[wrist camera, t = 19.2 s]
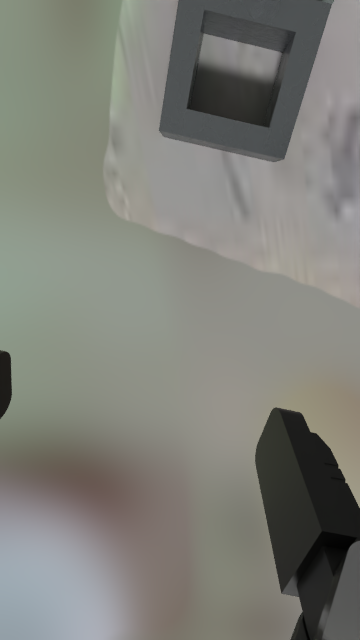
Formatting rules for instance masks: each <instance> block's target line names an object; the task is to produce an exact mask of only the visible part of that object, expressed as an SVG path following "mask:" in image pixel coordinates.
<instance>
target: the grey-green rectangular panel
mask: <svg viewBox="0 0 360 640" xmlns="http://www.w3.org/2000/svg"><path fill="white" fill-rule="evenodd" d="M318 1H322V2H326V3H330V4H332V3H333V2H334V0H318Z"/></svg>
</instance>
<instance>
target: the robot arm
mask: <svg viewBox="0 0 360 640" xmlns="http://www.w3.org/2000/svg"><path fill="white" fill-rule="evenodd" d="M11 395H12V386H11V357H10V354H9V353H8V352H5V351H1V350H0V419H1V417H2V416H3V415H4V414H5V412H6V410H7V408H8V406H9V404H10V401H11ZM255 462H256V469H257V474H258V478H259V484H260V489H261V494H262V499H263V504H264V509H265V514H266V519H267V524H268V529H269V533H270V539H271V543H272V548H273V554H274V559H275V564H276V569H277V574H278V578H279V584H280V589H281V593H282V594H287V595H292V596H297V597H299V598H300V602H301V606H302V610H303V612H302V613H301V615H300V617H299V618H298V621H297V623H296V626H295V629H294V631H293V634H292V637H291V639H290V640H360V508H359V506H358V504H357V502H356V500H355V498H354V496H353V494H352V492H351V490H350V488H349V486H348V484H347V483H345V478H344V476H343V474H342V472H341V470H340V469H338V464H337V461H336V459H335V457H334V455H333V453H332V451H331V449H330V448H329V447H328V446H327V445H326V444H325V442H324V441H323V440H322V439H321V438H320V437H319V436H318V435H317V434H316V433H311V432H310V430H309V428H308V426H307V423H306V421H305V419H304V417H303V415H302V414H301V413H300V412H295V411H291V410H286V409H281V408H274V409H273V410H272V411H271V413H270V416H269V418H268V420H267V423H266V425H265V427H264V430H263V432H262V435H261V437H260V439H259V442H258V444H257V449H256V455H255Z"/></svg>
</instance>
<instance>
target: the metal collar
mask: <svg viewBox="0 0 360 640" xmlns="http://www.w3.org/2000/svg"><path fill="white" fill-rule="evenodd" d="M331 5H332V4H330V3H326V2H322V1H318V0H179V2H178V9H177V15H176V22H175V28H174V35H173V42H172V48H171V55H170V61H169V68H168V75H167V81H166V88H165V94H164V101H163V108H162V114H161V121H160V127H159V131H160V132H161V134H162V135H163V136H164V137H167V138H171V139H175V140H180V141H184V142H189V143H193V144H197V145H202V146H206V147H210V148H215V149H219V150H223V151H228V152H232V153H236V154H241V155H245V156H249V157H254V158H258V159H262V160H267V161H271V162H276V161H280V160H283V159H284V158H285V155H286V151H287V148H288V145H289V142H290V138H291V135H292V132H293V129H294V125H295V122H296V119H297V116H298V112H299V109H300V106H301V103H302V99H303V96H304V93H305V90H306V86H307V83H308V80H309V77H310V73H311V70H312V67H313V64H314V60H315V57H316V54H317V51H318V47H319V44H320V41H321V38H322V34H323V31H324V28H325V25H326V21H327V18H328V15H329V12H330V8H331ZM203 33H205V34H209V35H213V36H217V37H222V38H226V39H230V40H234V41H238V42H242V43H246V44H251V45H255V46H259V47H263V48H267V49H271V50H275V51H280V52H283V54H282V58H281V62H280V65H279V69H278V73H277V77H276V80H275V84H274V88H273V91H272V95H271V99H270V102H269V106H268V110H267V113H266V117H265V121H264V124H263V126H258V125H254V124H250V123H245V122H241V121H237V120H233V119H228V118H224V117H220V116H215V115H211V114H207V113H203V112H198V111H194V110H190V104H191V99H192V93H193V88H194V82H195V77H196V71H197V66H198V60H199V55H200V50H201V44H202V39H203Z"/></svg>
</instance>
